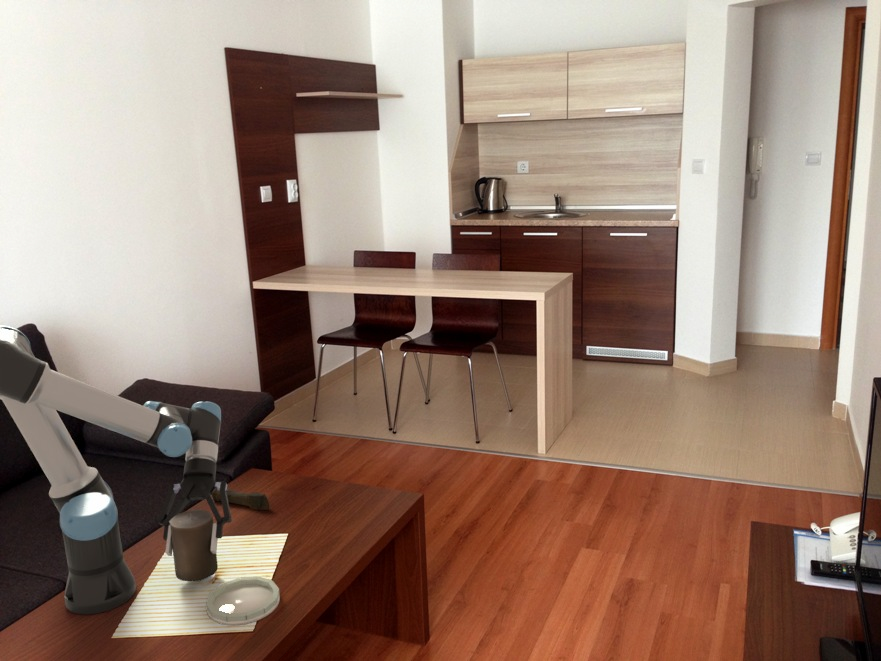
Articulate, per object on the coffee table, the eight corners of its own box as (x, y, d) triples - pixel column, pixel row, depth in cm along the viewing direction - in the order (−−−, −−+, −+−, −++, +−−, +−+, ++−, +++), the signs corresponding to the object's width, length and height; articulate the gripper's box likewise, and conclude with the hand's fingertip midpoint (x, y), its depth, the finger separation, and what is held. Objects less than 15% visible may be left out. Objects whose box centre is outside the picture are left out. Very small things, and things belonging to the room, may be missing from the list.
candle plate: (199, 627, 169) (198, 619, 168) (215, 586, 184) (214, 578, 184) (274, 622, 170) (273, 614, 169) (284, 581, 185) (283, 574, 185)
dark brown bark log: (211, 502, 228) (209, 488, 227) (221, 496, 231) (219, 482, 230) (262, 515, 219) (261, 500, 218) (272, 509, 223) (270, 494, 221)
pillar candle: (219, 576, 184) (214, 518, 180) (176, 585, 180) (169, 526, 177) (215, 557, 192) (210, 501, 189) (173, 565, 189) (167, 508, 186)
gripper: (249, 466, 197) (242, 555, 186) (159, 470, 196) (147, 559, 185) (243, 454, 191) (236, 546, 179) (150, 458, 190) (137, 550, 178)
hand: (191, 553), depth 182 cm, fingers closed on pillar candle, 9 cm apart
